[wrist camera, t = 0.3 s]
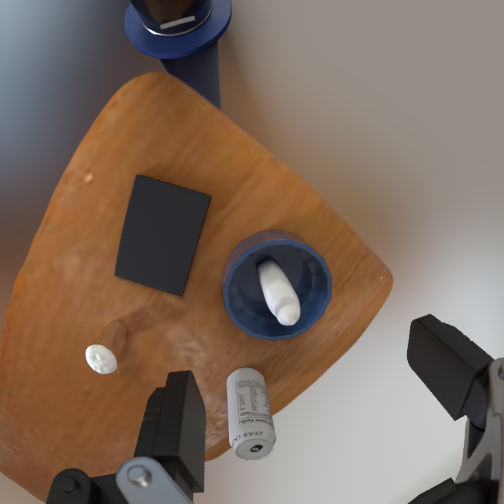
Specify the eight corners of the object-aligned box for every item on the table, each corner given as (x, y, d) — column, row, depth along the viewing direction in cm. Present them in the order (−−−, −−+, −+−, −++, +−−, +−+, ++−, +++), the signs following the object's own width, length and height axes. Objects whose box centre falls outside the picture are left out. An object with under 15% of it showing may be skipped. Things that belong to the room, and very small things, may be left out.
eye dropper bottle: (256, 297, 40) (268, 347, 29) (256, 258, 39) (270, 297, 27) (287, 296, 40) (310, 343, 29) (289, 258, 39) (315, 295, 27)
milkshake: (135, 345, 41) (118, 387, 31) (104, 337, 40) (81, 375, 31) (137, 321, 40) (118, 361, 30) (105, 312, 39) (79, 349, 30)
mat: (137, 174, 34) (136, 174, 34) (211, 195, 36) (211, 196, 35) (115, 273, 38) (114, 275, 37) (182, 294, 39) (181, 296, 39)
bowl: (241, 216, 37) (244, 224, 32) (332, 246, 39) (348, 258, 34) (212, 306, 40) (210, 326, 35) (298, 328, 42) (307, 348, 37)
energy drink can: (219, 383, 44) (221, 455, 30) (239, 359, 43) (247, 432, 29) (250, 395, 46) (260, 465, 31) (270, 373, 45) (287, 444, 30)
